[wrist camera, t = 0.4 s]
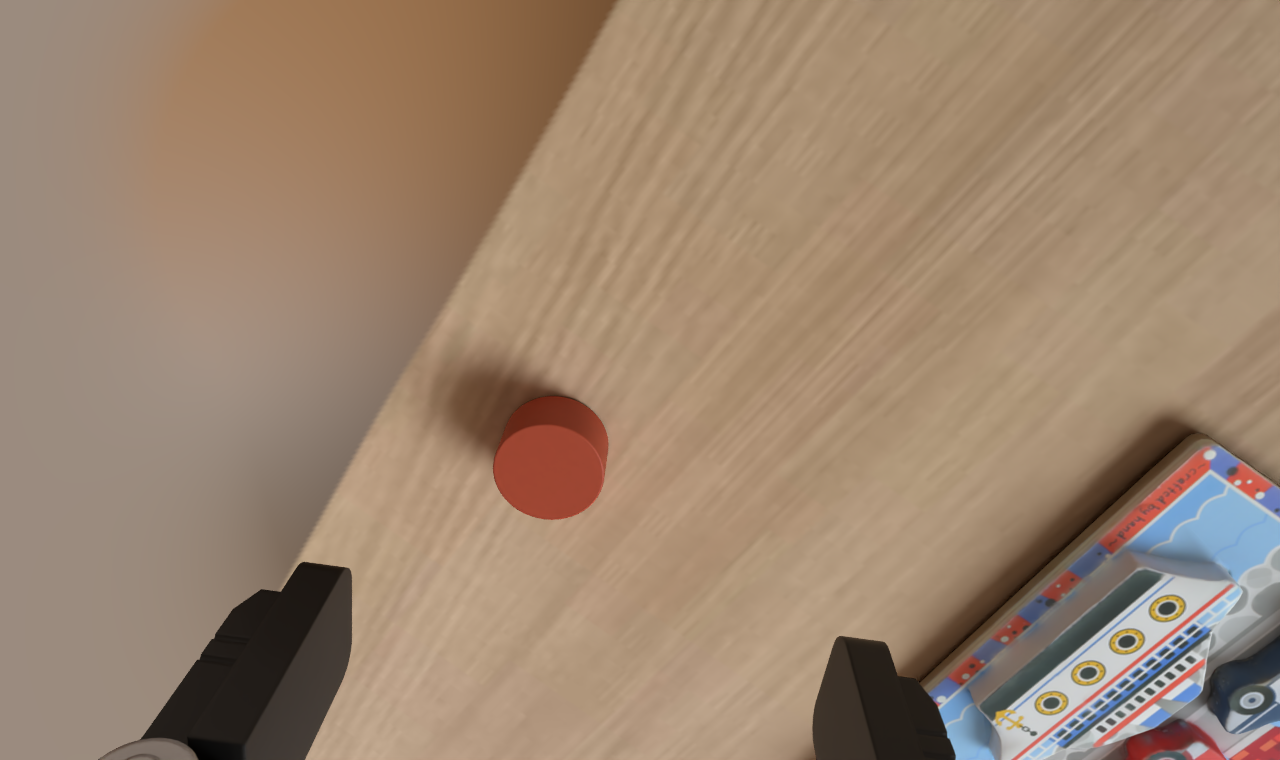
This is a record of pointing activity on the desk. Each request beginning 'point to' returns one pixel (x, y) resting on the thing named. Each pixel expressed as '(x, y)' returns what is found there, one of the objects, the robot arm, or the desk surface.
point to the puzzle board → (1137, 631)
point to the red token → (551, 458)
